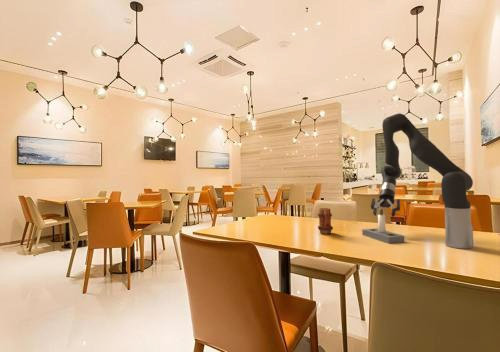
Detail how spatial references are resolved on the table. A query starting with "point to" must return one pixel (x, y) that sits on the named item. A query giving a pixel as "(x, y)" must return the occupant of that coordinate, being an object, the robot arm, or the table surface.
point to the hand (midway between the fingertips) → (383, 215)
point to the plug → (381, 222)
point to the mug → (325, 221)
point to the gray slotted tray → (383, 236)
